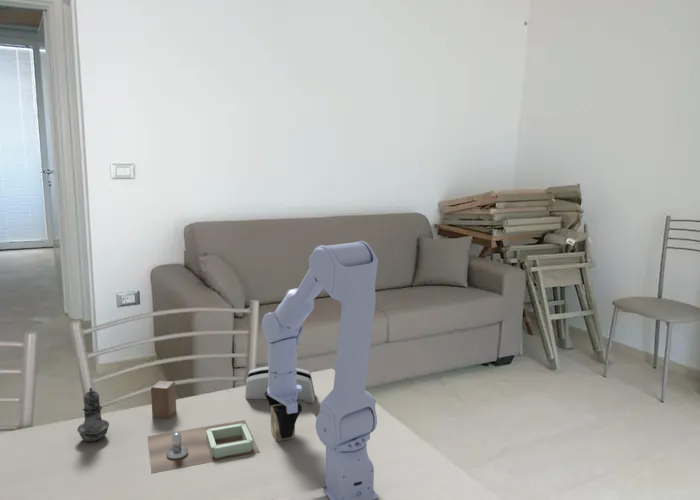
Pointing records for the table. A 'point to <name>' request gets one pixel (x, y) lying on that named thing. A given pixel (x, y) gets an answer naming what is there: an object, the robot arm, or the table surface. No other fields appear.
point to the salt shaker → (92, 418)
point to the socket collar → (229, 447)
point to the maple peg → (277, 426)
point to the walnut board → (190, 448)
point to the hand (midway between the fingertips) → (282, 430)
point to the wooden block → (163, 399)
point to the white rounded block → (259, 384)
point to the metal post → (176, 448)
